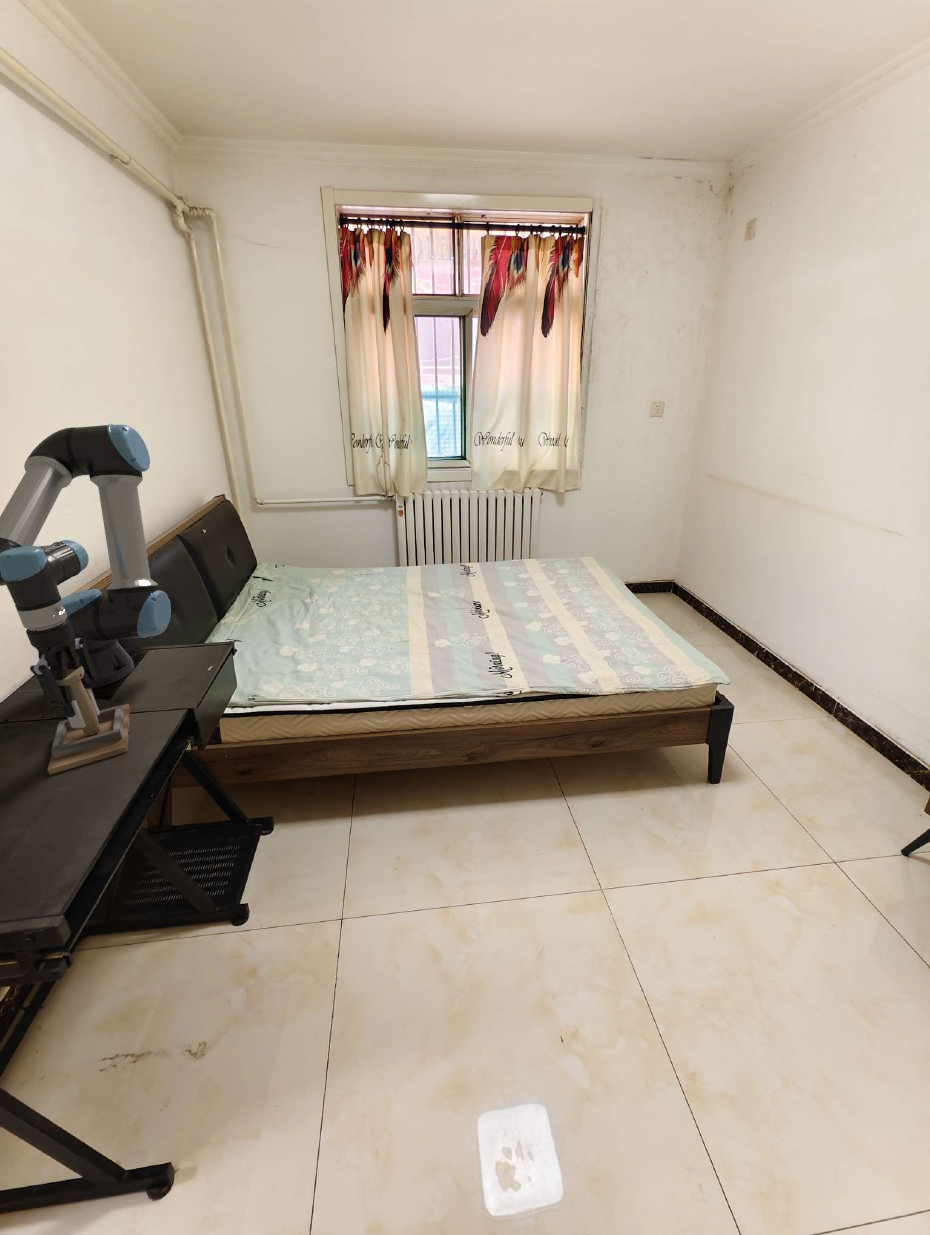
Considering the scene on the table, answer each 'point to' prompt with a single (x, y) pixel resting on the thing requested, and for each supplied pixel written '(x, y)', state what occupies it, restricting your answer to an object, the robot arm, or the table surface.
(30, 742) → the table surface
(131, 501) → the robot arm
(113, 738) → the collar board
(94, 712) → the handle
